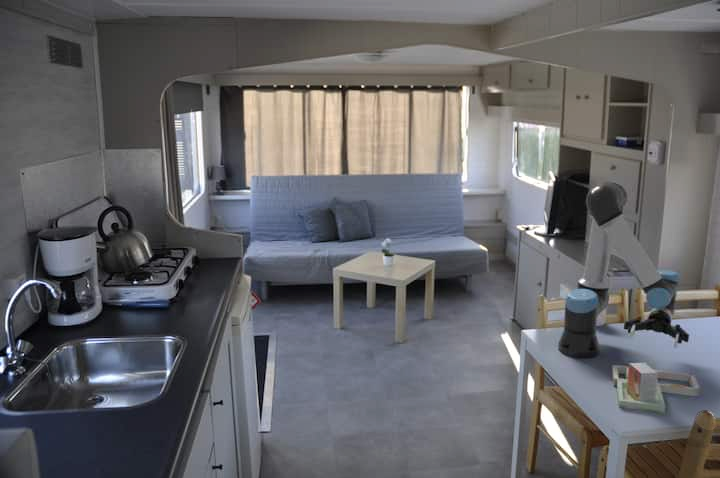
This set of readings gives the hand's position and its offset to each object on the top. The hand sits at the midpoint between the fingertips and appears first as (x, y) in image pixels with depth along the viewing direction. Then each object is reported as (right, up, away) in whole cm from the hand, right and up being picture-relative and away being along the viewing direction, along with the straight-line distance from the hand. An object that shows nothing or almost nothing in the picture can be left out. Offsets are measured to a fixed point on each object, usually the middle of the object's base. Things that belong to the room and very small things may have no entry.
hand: (653, 339), depth 202 cm
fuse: (-3, -16, +7) cm, 18 cm away
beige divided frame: (+3, -16, +5) cm, 17 cm away
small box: (-7, -18, -6) cm, 20 cm away
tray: (-7, -19, -6) cm, 21 cm away
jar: (+4, -3, +62) cm, 62 cm away
